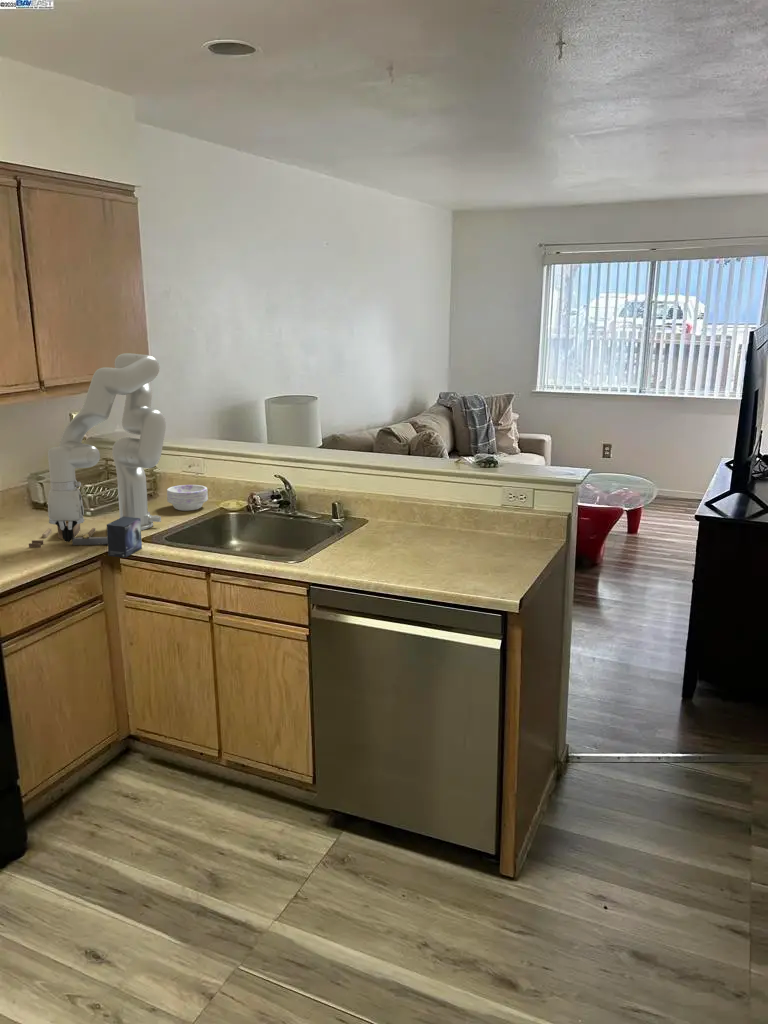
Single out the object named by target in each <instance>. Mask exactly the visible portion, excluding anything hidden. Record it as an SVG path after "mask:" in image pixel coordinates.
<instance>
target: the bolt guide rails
mask: <svg viewBox="0 0 768 1024" xmlns="http://www.w3.org/2000/svg"><path fill="white" fill-rule="evenodd" d="M94 532H97V531H96V528H95V527H91V529H90V530H89V531H88V533H87V534H89V537H91V536H92V537H93V535H94V534H95V533H94ZM51 533H52V528H47V529H46V530H45V532H43V533H42V538H43V539H46V538H47V537H48V536H49V535H50V534H51Z"/></svg>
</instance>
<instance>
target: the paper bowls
mask: <svg viewBox="0 0 768 1024" xmlns="http://www.w3.org/2000/svg"><path fill="white" fill-rule="evenodd" d="M208 492H209V491H208V487H207V486H204V485H199V484H180V485H175V486H174V485H173V486H170V487H168V488H167V489H166V498H167V500H166V501H167V503H169V504H172V506H173V509H175V510H178V511H183V512H184V511H185V512H188V511H189V512H190V511H196V510H199V509H201V508H202V506H203V505H204V503H206V502H207V501H209V494H208Z"/></svg>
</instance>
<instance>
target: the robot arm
mask: <svg viewBox="0 0 768 1024" xmlns="http://www.w3.org/2000/svg"><path fill="white" fill-rule="evenodd" d="M114 359H115V360H114V367H100V368H98V369H96V370H95V372H94V373H93V375H92V378H91V380H90V384H89V387H88V390H87V392H86V396H85V400H84V403H83V405H82V407H81V408H82V409H81V410H80V411H79V412H78V413H77V414H76V415H75V416H74V417H73V418H72V419H71V420H70V422H68V424H67V426H66V427H65V428H64V431H63V433H62V436H61V439H60V441H59V445H58V446H53V447H50V448H49V449H48V450H47V461H48V469H49V481H50V482H49V483H50V489H49V491H48V498H47V500H48V501H47V514H48V515H47V516H48V519H49V520H48V524H51V525H56V526H58V527H59V528H60V529H61V530H62V536H63V541H64V543H67V542H68V543H70V542H71V541H72V539H73V527H74V526H75V525H76V524H80V525H81V524H83V523H84V522H85V518H84V515H85V511H84V505H83V503H84V502H83V498H82V494H81V491H80V488H79V487H81V485H82V483H81V481H77V479H76V469H80V468H81V469H83V468H84V469H85V468H86V469H87V468H88V469H89V468H92V467H94V466H96V465H97V464H98V463H99V461H100V459H101V454H100V450H99V449H98V448H97V447H96V446H94V445H92V444H88V443H82V441H83V439H84V437H85V436H86V434H87V433H88V431H90V430H91V429H93V428H94V427H95V426H97V425H99V424H101V423H104V422H106V421H107V420H108V419H109V417H110V415H111V414H110V413H111V411H112V407H113V405H114V402H115V399H116V396H125V400H124V407H123V412H122V419H121V426H122V428H123V430H124V431H125V432H127V433H128V434H132V435H139V438H136V437H130V436H129V437H128V436H127V437H126V436H125V437H121V438H119V439H117V440H116V441H115V442H114V443H113V446H112V458H113V461H114V467H115V470H116V471H115V472H116V479H117V480H116V481H117V493H118V497H117V498H118V509H119V512H118V513H119V518H121V517H123V516H125V517H133V518H141V531H143V530H148V529H150V528H152V527H153V526H154V523H156V522H157V523H158V522H159V523H161V522H162V516H160V515H158V514H157V515H155V514H154V515H152V514H151V511H148V510H149V507H148V490H147V489H148V488H147V477H146V472H145V469H153V468H154V467H156V466H157V464H158V463H159V461H160V459H161V458H162V457H161V456H162V452H163V446H164V440H165V434H166V430H167V429H166V428H167V424H166V423H167V422H166V418H165V416H164V414H163V413H162V412H161V411H160V410H158V409H156V408H151V407H152V401H153V399H152V398H153V390H152V387H151V384H150V383H151V382H152V381H154V380H155V379H156V378H157V376H158V375H159V372H160V365H159V361H158V360H157V358H156V357H154V356H152V355H150V354H140V353H130V352H128V353H121V354H119V355H117V356H116V357H115V358H114ZM65 521H69V522H68V528H67V526H66V522H65ZM58 527H57V528H58Z"/></svg>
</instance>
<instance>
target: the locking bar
mask: <svg viewBox="0 0 768 1024" xmlns="http://www.w3.org/2000/svg"><path fill="white" fill-rule="evenodd" d="M81 535H82V536H81V537H80V536H79V537H77V536H76V537H74V538H73V539H72V540H71V541H72V546H87V545H90V546H91V545H95V546H97V545H108V539H107V536H92V537H89V534H88V533H83V534H81Z"/></svg>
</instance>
